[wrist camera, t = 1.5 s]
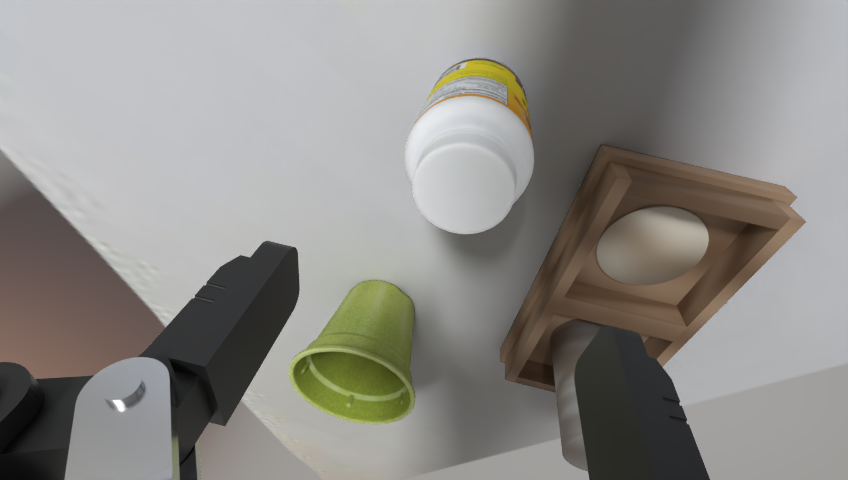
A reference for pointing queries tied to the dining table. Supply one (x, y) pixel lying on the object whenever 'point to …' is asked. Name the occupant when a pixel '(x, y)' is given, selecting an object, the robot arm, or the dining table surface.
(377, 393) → the plant pot
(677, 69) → the dining table surface
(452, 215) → the supplement bottle
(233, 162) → the dining table surface
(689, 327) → the caddy
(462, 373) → the dining table surface
